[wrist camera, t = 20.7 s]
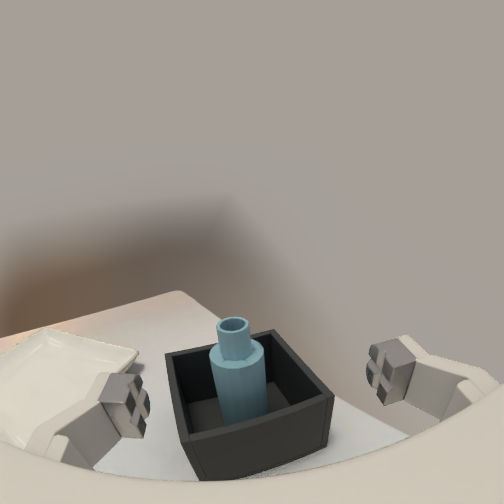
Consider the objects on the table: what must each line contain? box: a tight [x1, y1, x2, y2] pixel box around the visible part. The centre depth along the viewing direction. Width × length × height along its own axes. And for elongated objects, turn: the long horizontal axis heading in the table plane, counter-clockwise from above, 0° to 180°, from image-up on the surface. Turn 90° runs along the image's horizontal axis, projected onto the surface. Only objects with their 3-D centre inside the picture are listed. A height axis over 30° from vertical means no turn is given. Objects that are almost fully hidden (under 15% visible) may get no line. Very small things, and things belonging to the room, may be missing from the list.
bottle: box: [209, 317, 268, 426], centre depth 26 cm, size 5×5×14 cm
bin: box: [165, 329, 335, 481], centre depth 27 cm, size 14×14×9 cm
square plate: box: [0, 327, 139, 450], centre depth 30 cm, size 27×27×4 cm
